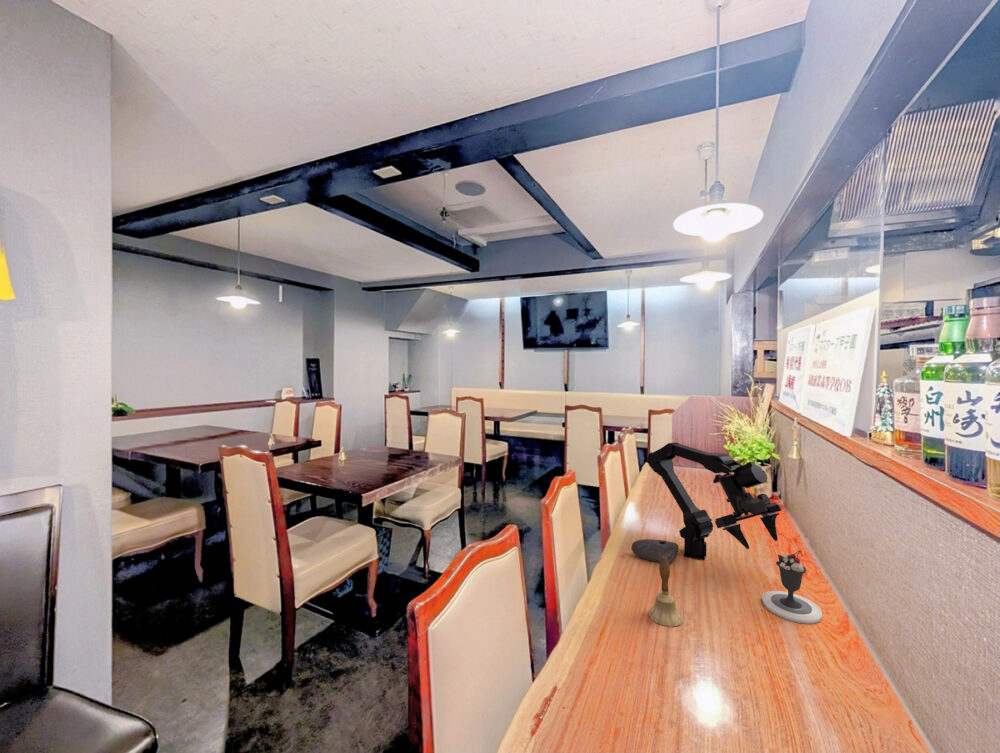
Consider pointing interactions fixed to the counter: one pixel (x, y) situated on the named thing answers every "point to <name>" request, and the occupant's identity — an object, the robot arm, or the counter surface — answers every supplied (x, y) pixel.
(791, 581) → the sundae
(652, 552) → the perforated stone tool
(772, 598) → the serving plate
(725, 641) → the counter surface
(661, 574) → the hand bell
